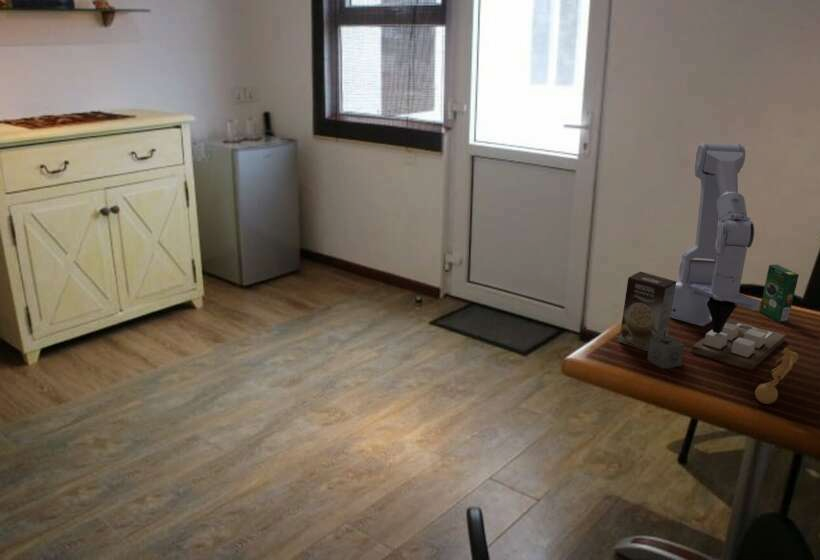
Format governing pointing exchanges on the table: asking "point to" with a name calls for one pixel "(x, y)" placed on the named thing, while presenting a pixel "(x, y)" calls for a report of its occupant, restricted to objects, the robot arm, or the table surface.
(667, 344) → the grey cube with symbol
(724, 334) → the button
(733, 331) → the button
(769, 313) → the coffee box
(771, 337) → the board
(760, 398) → the figurine
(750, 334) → the button
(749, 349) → the button
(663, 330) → the coffee box
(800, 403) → the table surface
